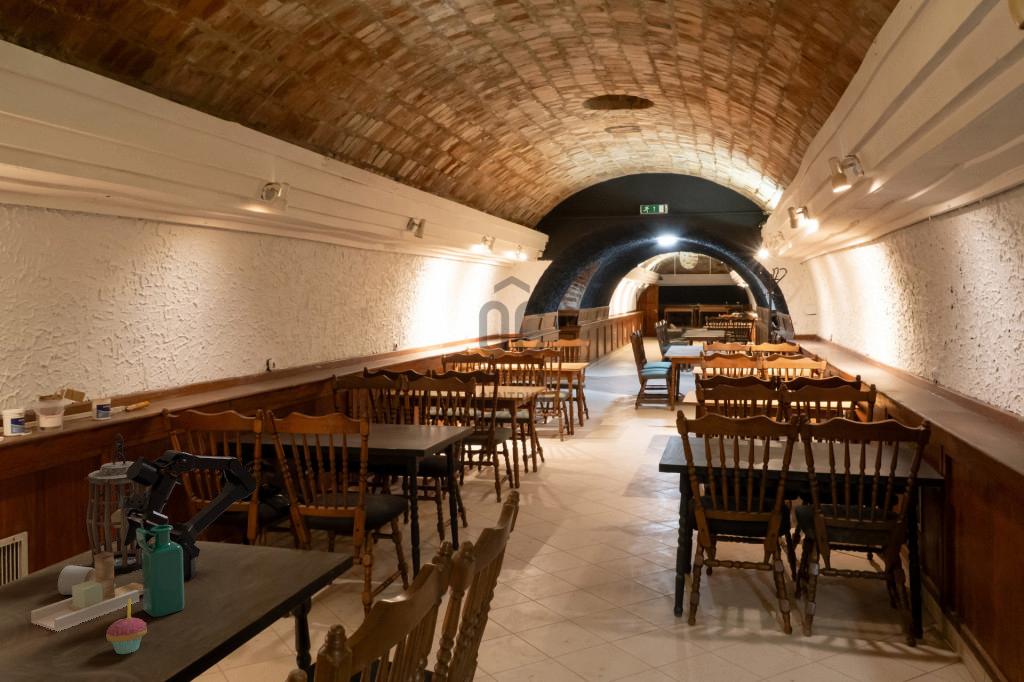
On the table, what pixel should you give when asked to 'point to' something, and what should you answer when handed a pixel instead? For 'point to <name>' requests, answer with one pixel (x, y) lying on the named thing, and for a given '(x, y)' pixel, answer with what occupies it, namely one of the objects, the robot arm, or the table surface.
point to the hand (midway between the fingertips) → (130, 547)
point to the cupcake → (126, 633)
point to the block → (87, 594)
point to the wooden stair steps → (109, 579)
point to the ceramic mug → (74, 578)
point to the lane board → (64, 617)
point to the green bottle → (161, 572)
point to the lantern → (106, 477)
